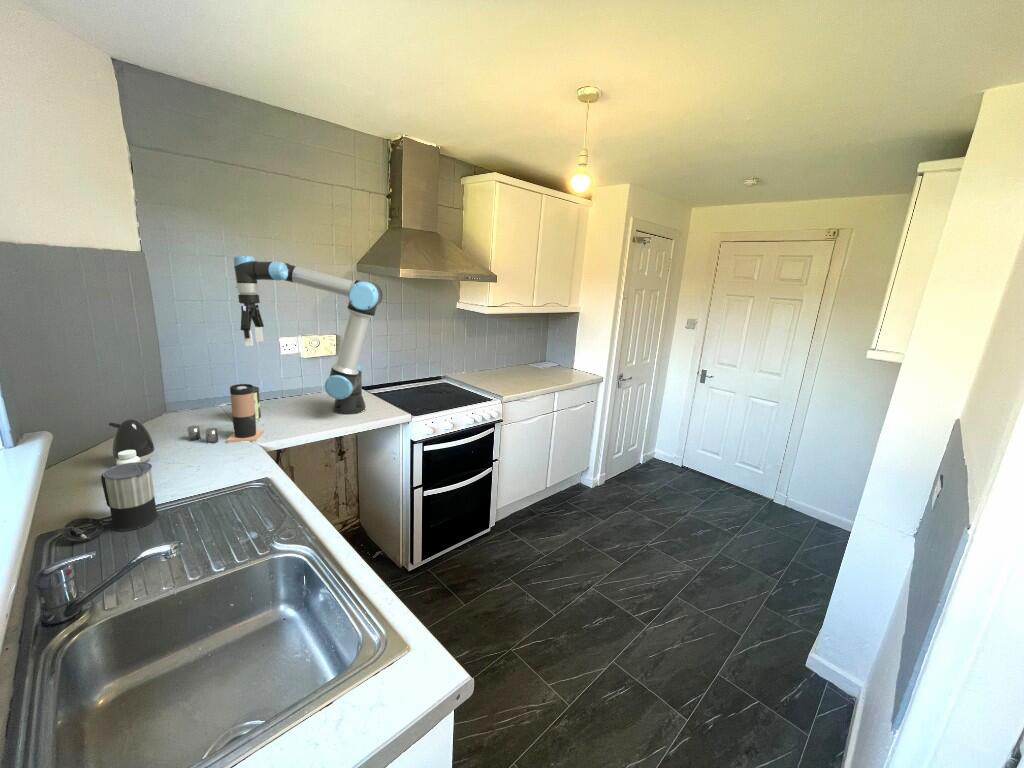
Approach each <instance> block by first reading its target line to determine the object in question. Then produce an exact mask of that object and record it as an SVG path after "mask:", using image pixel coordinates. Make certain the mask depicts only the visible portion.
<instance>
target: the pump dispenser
mask: <svg viewBox="0 0 1024 768" xmlns="http://www.w3.org/2000/svg"><path fill="white" fill-rule="evenodd" d="M108 426H110V427H112V428H116V431H115V433H114V437H113V441H112V456H113V458H114V459H115V460H116V461H117V460H119V458H118V453H119V452H121V451H125V450H135V451H136V456H138V457H139V458H140V460H141V462H145V463H148V461H149V460H150V459H151V458H152V457H153V455H154V452H155V444H154V442H153V439H152V436H151V435H150V432H149V431H148V429H147V428H146V427H145V425H144V424H143V423H142V422H140V420H137V419H136V418H135V419H134V418H129V419H125V420H123V421H122V422H120V423H116V422H109V423H108Z"/></svg>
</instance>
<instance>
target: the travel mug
mask: <svg viewBox="0 0 1024 768" xmlns="http://www.w3.org/2000/svg"><path fill="white" fill-rule="evenodd" d="M253 386H254V385H253V384H250V383H239V384H232V385H230V386H229V391H230V405H231V416H232V417H231V418H232V425H233V433H235V437H237V438H248V437H252V436H254V435H256V430H257V421H256V417H255V404H254V393H253Z"/></svg>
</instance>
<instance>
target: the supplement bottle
mask: <svg viewBox="0 0 1024 768" xmlns="http://www.w3.org/2000/svg"><path fill="white" fill-rule="evenodd" d="M118 458H119V460H116V462H115V464H116V465H115V466H118V465H121V464H126V463H132V462H141V460H140V458H139V457H138V456H136V451H135V450H125V451H121V452H119V453H118Z"/></svg>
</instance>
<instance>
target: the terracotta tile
mask: <svg viewBox="0 0 1024 768" xmlns="http://www.w3.org/2000/svg"><path fill="white" fill-rule="evenodd" d="M264 433H265V430H262V429H259V430H258V429H256V435H254V436H252V437H248V438H237V437H235V433H234V432H233V433H232V434H231V435H230V436H229V437H228V438H226V442H225V443H242V442H241V441H256V440H257V439H258V438H259V437H261V436H263V434H264ZM259 439H260V438H259ZM259 439H258V440H259ZM258 440H257V441H258ZM257 441H256V442H257Z"/></svg>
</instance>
